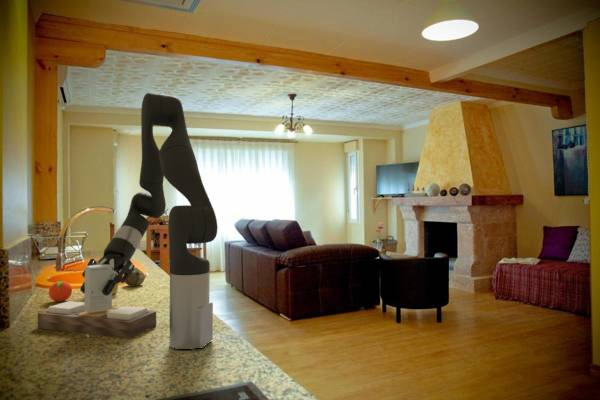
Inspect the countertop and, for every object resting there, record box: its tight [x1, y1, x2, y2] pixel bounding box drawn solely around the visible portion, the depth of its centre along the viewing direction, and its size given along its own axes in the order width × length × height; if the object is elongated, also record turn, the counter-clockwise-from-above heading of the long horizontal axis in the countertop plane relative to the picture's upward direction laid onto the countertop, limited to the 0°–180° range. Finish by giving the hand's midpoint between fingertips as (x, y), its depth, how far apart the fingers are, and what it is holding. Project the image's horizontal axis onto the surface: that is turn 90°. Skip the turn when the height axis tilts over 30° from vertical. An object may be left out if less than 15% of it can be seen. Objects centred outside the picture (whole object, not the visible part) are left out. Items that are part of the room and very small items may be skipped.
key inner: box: [107, 305, 148, 320], centre depth 111 cm, size 7×7×2 cm
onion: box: [124, 266, 146, 287], centre depth 170 cm, size 8×8×8 cm
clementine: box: [48, 280, 73, 303], centre depth 142 cm, size 8×7×7 cm
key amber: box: [77, 309, 114, 317], centre depth 114 cm, size 7×7×2 cm
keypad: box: [37, 306, 157, 339], centre depth 114 cm, size 29×11×4 cm, turn 74°
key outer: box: [48, 300, 84, 314], centre depth 116 cm, size 7×7×2 cm
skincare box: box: [83, 264, 113, 313], centre depth 114 cm, size 6×4×12 cm
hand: (93, 293), depth 112 cm, fingers closed on skincare box, 6 cm apart
